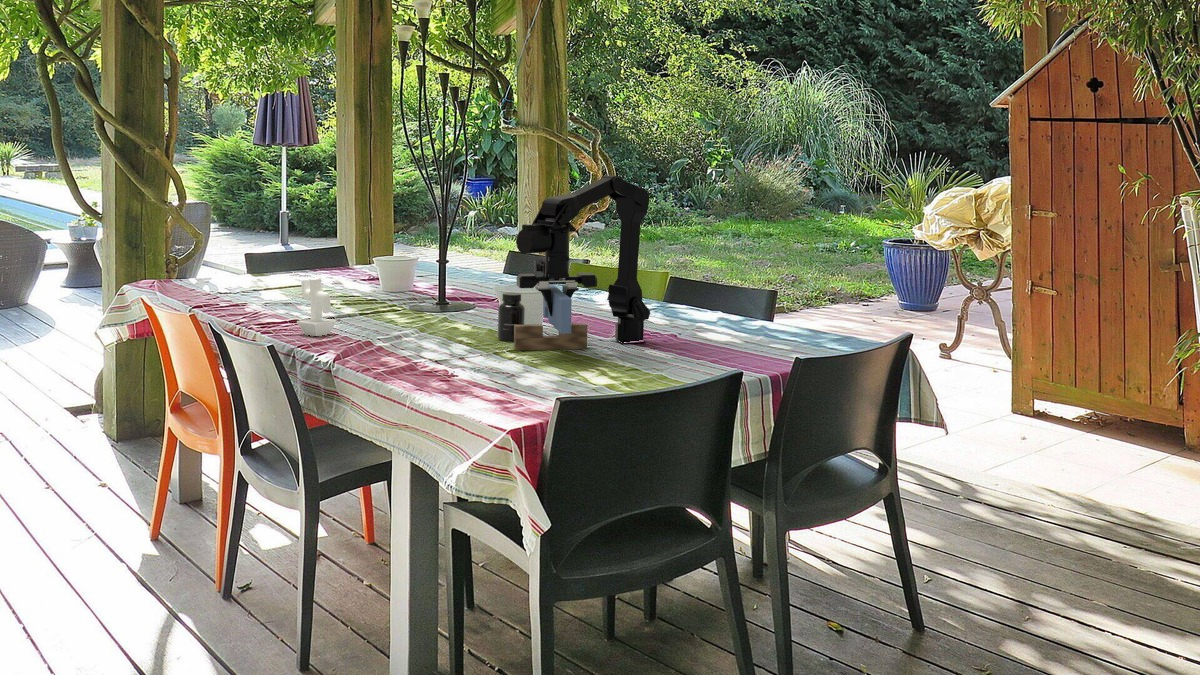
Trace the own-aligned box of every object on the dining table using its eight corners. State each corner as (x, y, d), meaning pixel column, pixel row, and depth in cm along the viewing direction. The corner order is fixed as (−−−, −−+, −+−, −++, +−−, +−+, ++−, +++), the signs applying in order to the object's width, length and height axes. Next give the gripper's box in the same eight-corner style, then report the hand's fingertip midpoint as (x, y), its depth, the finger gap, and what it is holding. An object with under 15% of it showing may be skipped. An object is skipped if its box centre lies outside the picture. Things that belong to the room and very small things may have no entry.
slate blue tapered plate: (543, 315, 262) (543, 284, 260) (552, 315, 263) (552, 284, 261) (561, 333, 239) (561, 299, 237) (571, 333, 240) (571, 299, 238)
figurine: (318, 339, 265) (316, 280, 263) (294, 334, 271) (292, 277, 268) (340, 335, 271) (338, 277, 268) (316, 330, 277) (314, 274, 274)
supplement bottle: (506, 343, 265) (506, 296, 263) (493, 338, 270) (493, 293, 268) (529, 340, 269) (529, 294, 267) (515, 336, 274) (515, 291, 272)
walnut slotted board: (584, 346, 262) (585, 323, 261) (587, 348, 260) (587, 324, 259) (514, 348, 258) (514, 324, 257) (515, 350, 256) (515, 326, 255)
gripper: (588, 247, 257) (587, 309, 260) (513, 248, 253) (513, 311, 256) (598, 252, 247) (597, 317, 250) (520, 253, 242) (520, 319, 245)
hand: (556, 315), depth 250 cm, fingers closed on slate blue tapered plate, 2 cm apart
